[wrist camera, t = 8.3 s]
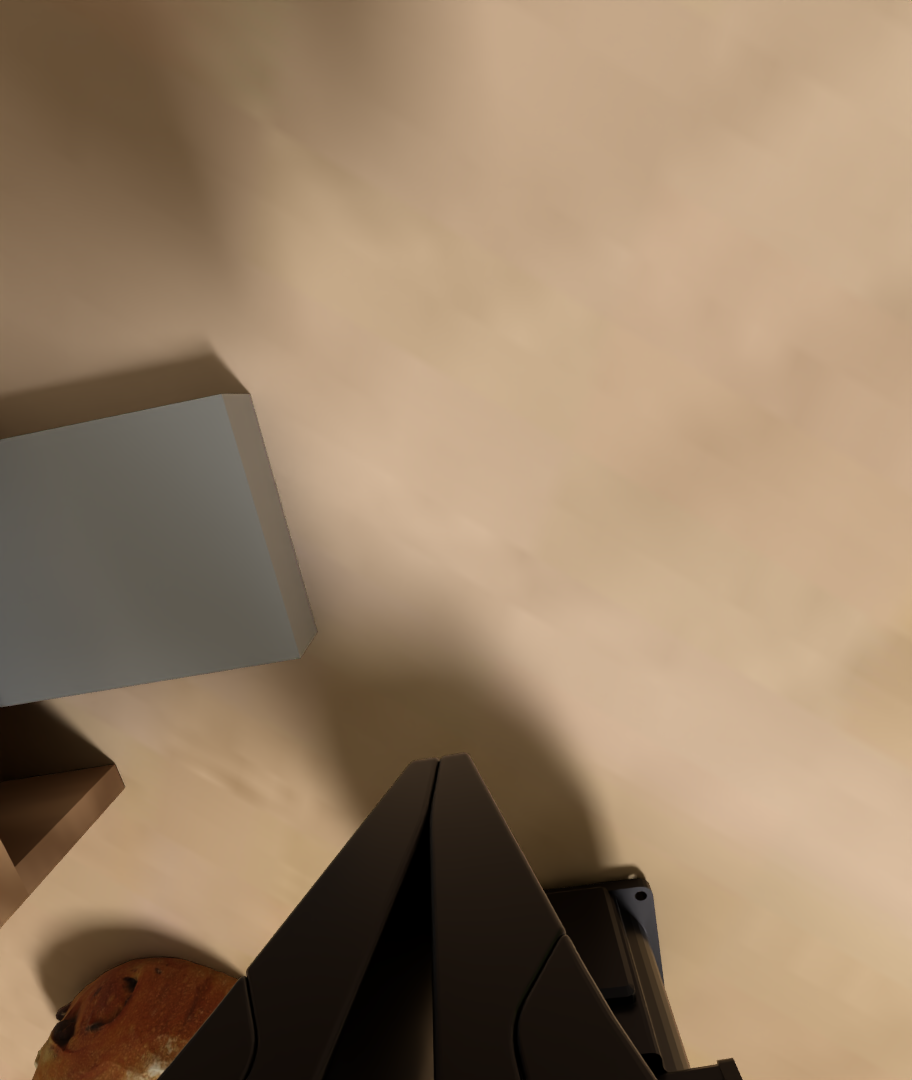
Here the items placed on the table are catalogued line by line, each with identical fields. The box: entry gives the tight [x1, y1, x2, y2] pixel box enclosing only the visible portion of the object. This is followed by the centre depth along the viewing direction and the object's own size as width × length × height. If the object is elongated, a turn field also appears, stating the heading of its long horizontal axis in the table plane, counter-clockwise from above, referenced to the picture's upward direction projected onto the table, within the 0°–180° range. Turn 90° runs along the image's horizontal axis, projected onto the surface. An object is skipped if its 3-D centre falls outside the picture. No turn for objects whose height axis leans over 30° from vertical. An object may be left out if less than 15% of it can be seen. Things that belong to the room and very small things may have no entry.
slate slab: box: [0, 394, 317, 707], centre depth 19 cm, size 9×16×3 cm, turn 101°
